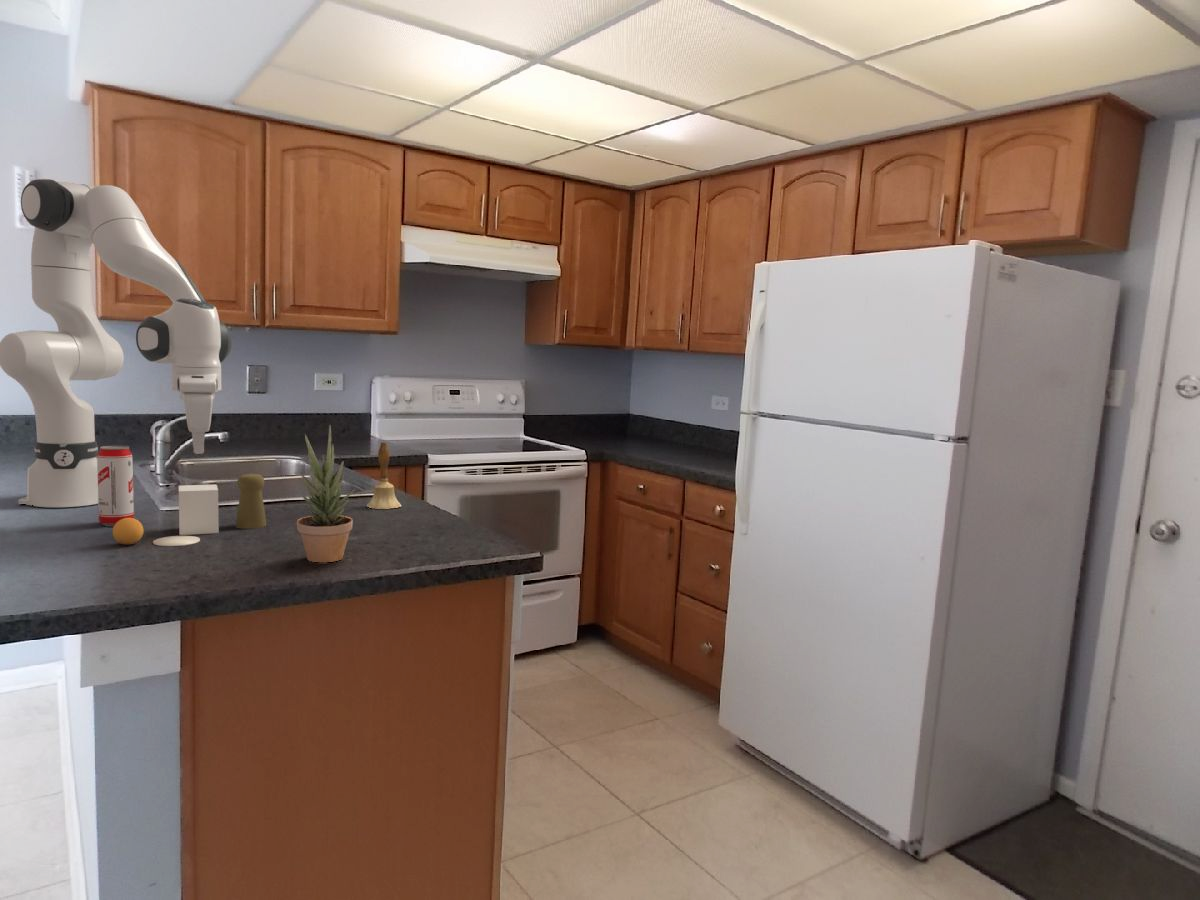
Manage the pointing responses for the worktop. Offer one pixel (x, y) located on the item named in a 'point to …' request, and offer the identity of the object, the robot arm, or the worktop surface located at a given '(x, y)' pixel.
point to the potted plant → (324, 510)
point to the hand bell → (384, 484)
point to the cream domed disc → (176, 541)
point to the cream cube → (198, 509)
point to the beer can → (115, 484)
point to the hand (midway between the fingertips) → (198, 450)
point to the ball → (128, 531)
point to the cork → (251, 502)
